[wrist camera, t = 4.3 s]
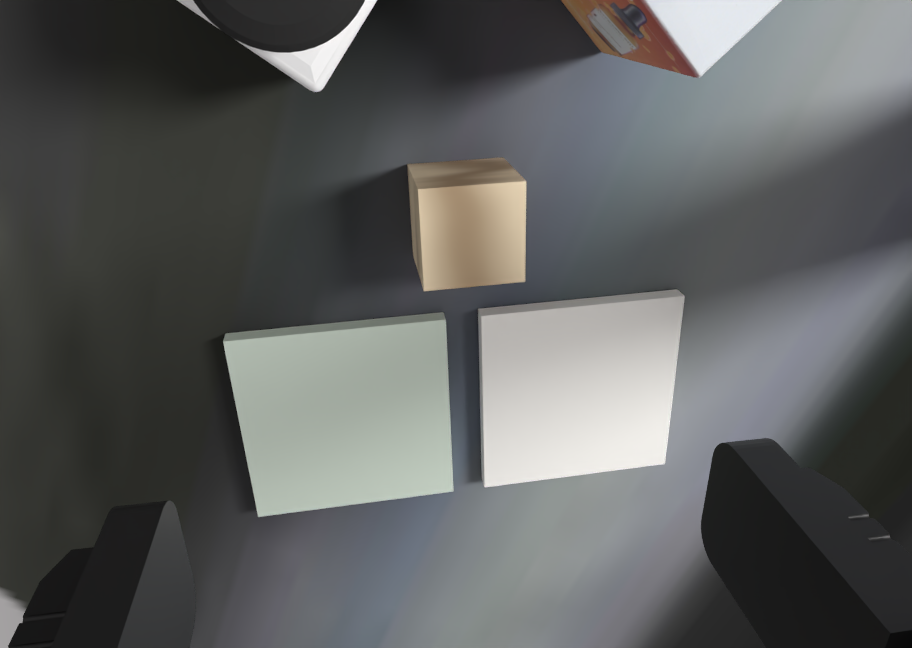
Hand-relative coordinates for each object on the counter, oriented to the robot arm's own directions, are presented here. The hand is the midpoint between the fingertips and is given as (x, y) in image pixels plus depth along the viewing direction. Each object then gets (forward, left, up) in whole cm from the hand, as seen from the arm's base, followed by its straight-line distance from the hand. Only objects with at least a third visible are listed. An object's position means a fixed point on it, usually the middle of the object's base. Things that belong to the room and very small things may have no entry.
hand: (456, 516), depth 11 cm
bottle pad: (+3, +16, -28) cm, 32 cm away
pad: (-11, +16, -28) cm, 34 cm away
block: (-4, +4, -28) cm, 29 cm away
